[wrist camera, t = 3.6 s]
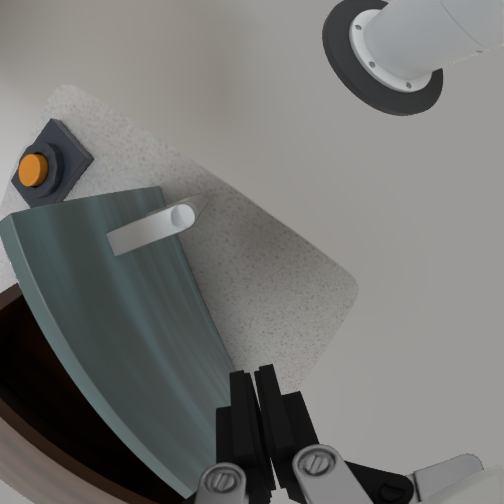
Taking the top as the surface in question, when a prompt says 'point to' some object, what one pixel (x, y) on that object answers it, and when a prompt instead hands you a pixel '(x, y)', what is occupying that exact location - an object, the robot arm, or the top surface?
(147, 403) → the cupboard door
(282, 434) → the robot arm
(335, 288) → the top surface
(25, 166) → the button
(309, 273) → the top surface
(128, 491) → the cupboard
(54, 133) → the switch block
